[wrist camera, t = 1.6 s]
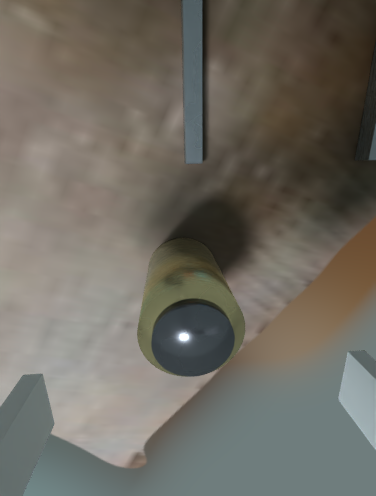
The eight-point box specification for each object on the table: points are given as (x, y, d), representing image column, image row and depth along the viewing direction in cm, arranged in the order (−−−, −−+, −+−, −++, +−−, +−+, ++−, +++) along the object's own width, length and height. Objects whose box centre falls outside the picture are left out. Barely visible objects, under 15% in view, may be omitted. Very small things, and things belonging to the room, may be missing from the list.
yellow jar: (146, 239, 21) (130, 295, 12) (216, 236, 22) (253, 288, 13) (150, 301, 23) (140, 392, 14) (215, 298, 24) (246, 383, 14)
